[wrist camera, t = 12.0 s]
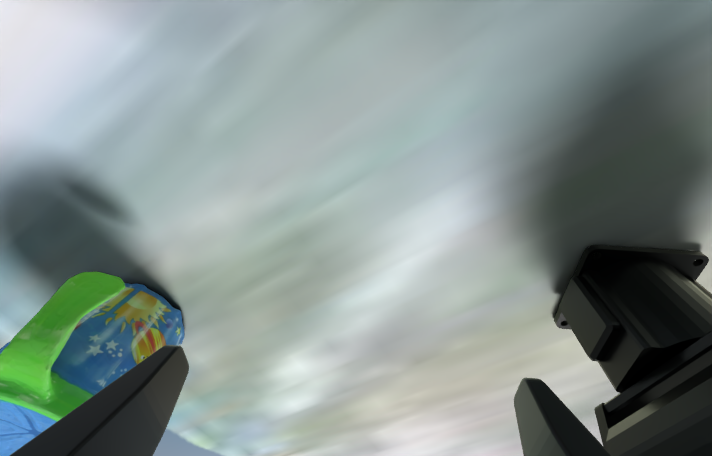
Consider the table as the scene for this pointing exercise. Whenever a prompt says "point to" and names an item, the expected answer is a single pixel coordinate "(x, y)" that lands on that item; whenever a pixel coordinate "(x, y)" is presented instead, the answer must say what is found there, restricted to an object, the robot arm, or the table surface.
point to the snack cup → (78, 350)
